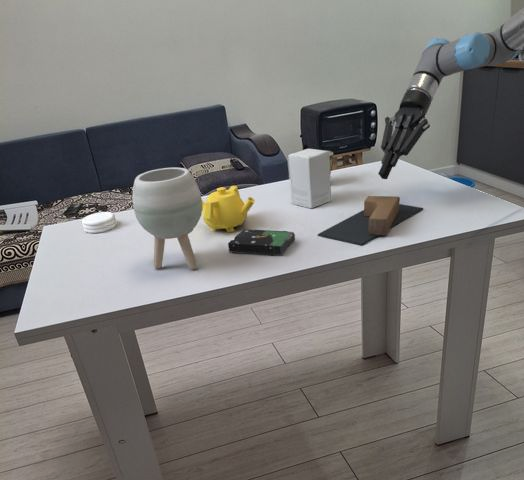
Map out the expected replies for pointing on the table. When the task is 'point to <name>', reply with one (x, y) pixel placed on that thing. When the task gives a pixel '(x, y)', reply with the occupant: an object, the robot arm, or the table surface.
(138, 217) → the planter
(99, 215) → the coaster
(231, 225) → the teapot
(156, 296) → the table surface
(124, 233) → the table surface
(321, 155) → the white product box
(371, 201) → the wooden block
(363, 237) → the mat
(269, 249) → the disk drive
